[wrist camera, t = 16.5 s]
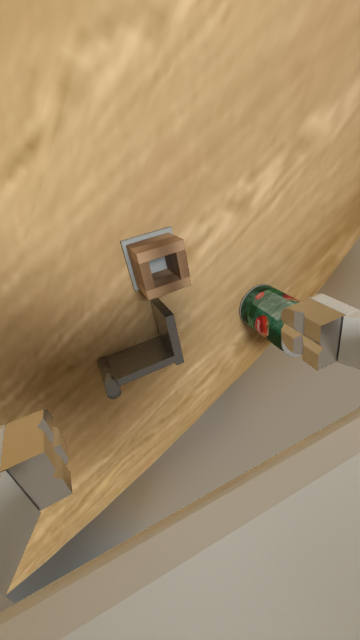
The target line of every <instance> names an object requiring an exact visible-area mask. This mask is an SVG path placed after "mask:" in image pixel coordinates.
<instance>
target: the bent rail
mask: <svg viewBox="0 0 360 640" xmlns="http://www.w3.org/2000/svg"><path fill="white" fill-rule="evenodd" d="M151 304H152V308H153V312H154V316H155V319H156V323H157V327H158V331H159V335H160V336H159V337H156V338H154V339H151V340H148V341H146V342H143V343H141V344H138V345H136V346H133V347H131V348H128V349H126V350H123V351H121V352H118V353H116V354H113V355H110V356H108V357H101V358H99V359H98V361H97V364H98V367H99V370H100V374H101V377H102V380H103V383H104V386H105V390H106V393H107V396H108V397H109V398H110V399H115V398H117V397H119V396H120V394H121V390H120V387H119V386H121V385H124V384H126V383H128V382H131V381H133V380H135V379H138V378H140V377H142V376H145V375H147V374H149V373H152V372H154V371H156V370H159V369H161V368H163V367H166V366H168V365H171V364H173V363H175V364H176V365H179V364H181V363H183V362H184V360H183V355H182V351H181V346H180V341H179V337H178V332H177V328H176V323H175V319H174V314H173V313H172V312H171V311H170V310H169V309H168V308H167V307H166V306H165V305H164V304H163V303H162V302H161V301H160V299H159V298H157V299H154V300H151Z"/></svg>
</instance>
